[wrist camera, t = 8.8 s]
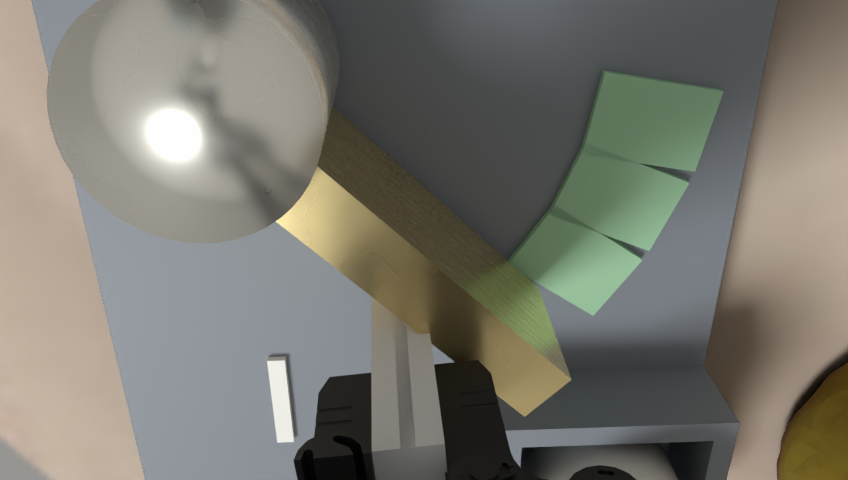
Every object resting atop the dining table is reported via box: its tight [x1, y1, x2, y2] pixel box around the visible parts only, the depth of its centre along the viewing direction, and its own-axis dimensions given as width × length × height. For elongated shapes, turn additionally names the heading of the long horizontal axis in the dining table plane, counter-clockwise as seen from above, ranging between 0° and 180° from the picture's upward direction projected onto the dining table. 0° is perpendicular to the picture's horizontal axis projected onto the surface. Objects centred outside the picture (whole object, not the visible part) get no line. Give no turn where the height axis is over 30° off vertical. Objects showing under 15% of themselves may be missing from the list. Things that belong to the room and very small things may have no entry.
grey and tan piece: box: [47, 0, 572, 417], centre depth 16 cm, size 12×5×5 cm, turn 46°
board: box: [31, 0, 778, 480], centre depth 18 cm, size 24×17×4 cm
